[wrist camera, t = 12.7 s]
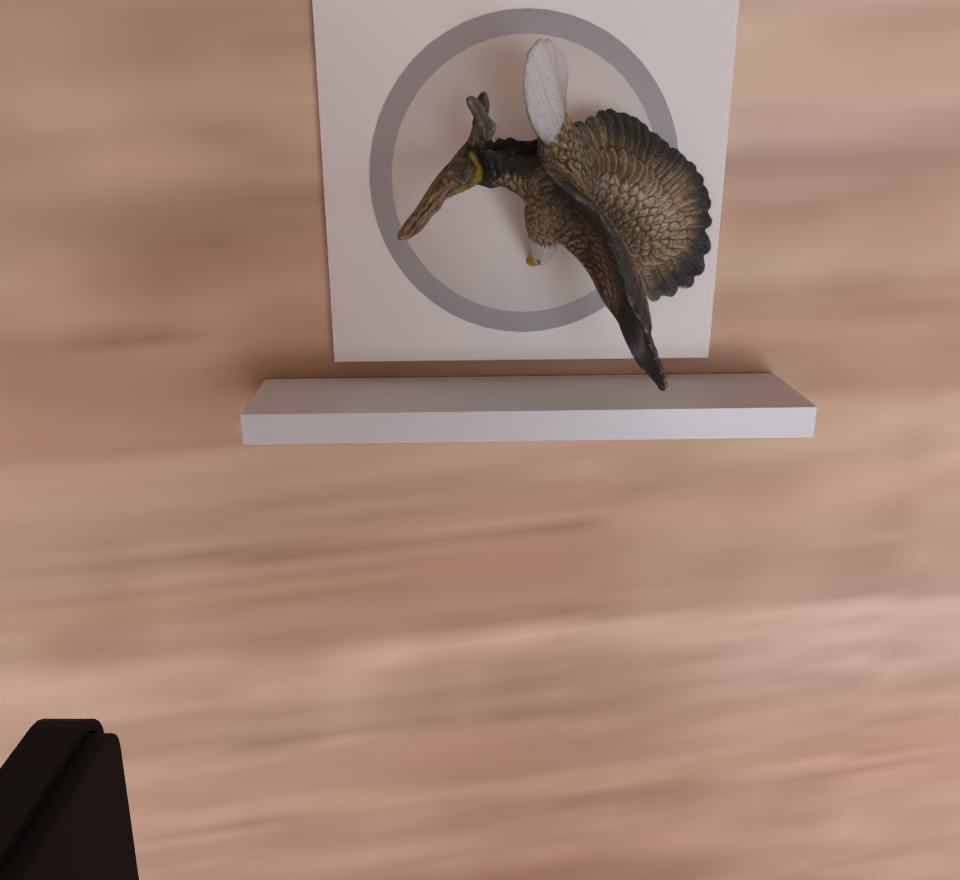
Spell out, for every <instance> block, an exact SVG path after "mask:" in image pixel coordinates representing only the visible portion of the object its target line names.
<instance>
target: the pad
mask: <svg viewBox="0 0 960 880" xmlns="http://www.w3.org/2000/svg"><path fill="white" fill-rule="evenodd" d="M739 4H740V0H312V5H313V21H314V37H315V53H316V69H317V85H318V102H319V118H320V134H321V150H322V166H323V183H324V199H325V215H326V231H327V247H328V264H329V280H330V296H331V312H332V328H333V344H334V361H335V362H365V361H453V360H541V359H629V358H634V357H633V356H632V354H631V352H630V350H629V347H628V345H627V343H626V342H625V339H624V337H623V334H622V332H621V329H620V326H619V323H618V322H617V320H616V319H615V317H614V316H613V315H612V313H611V312H610V310H609V309H608V308H607V307H606V305H605V304H604V302H603V301H602V299H601V297H600V295H599V293H598V291H597V289H596V287H595V285H594V283H593V281H592V279H591V277H590V275H589V274H588V272H587V271H586V269H585V268H584V267H583V265H582V264H581V263H580V262H579V260H578V259H577V258H576V257H575V256H574V255H573V254H571V253H570V252H569V251H568V250H567V249H566V248H565V247H564V246H563V245H561V244H559V245H558V248H557V250H556V252H555V254H554V256H553V257H552V259H551V260H550V261H549V262H548V263H547V264H546V265H545V266H540V265H538V266H529V265H528V264H527V263H526V260H527V259H529V257H530V254H531V253H530V243H529V238H528V233H527V230H526V227H525V216H524V212H525V206H526V204H525V202H524V201H523V199H522V198H521V197H519V196H518V195H517V194H516V193H514V192H512V191H510V190H508V189H507V188H505V187H496V188H491V189H490V188H487V187H485V186H481V185H475V186H473V187H472V188H471V189H468V190H466V191H464V192H462V193H459V194H457V195H453V196H452V197H450V198H448V199H446V200H445V202H444V203H443V204H442V207H441V210H439V211H438V212H437V213H435V214H434V215H433V216H432V217H431V219H430V221H429V222H428V223H427V225H426V226H425V227H424V228H423V229H422V230H421V232H419V233H418V234H416V235H414V236H413V237H412V238H410V239H407V240H398V238H397V234H398V232H399V230H400V229H401V227H402V226H403V224H404V223H405V221H406V220H407V219H408V217H409V216H410V215H411V214H412V213H413V211H414V210H415V208H416V207H417V205H418V204H419V202H420V201H421V199H422V197H423V196H424V194H425V193H426V191H427V190H428V188H429V187H430V185H431V183H432V182H433V181H434V179H435V178H436V177H437V175H438V174H439V173H440V172H441V171H442V169H443V168H444V167H445V166H446V165H447V164H448V163H449V162H450V161H451V159H452V158H453V157H454V155H455V154H456V153H457V152H458V150H459V149H460V148H461V147H462V146H463V145H464V144H465V143H466V142H467V140H468V138H469V135H470V133H471V129H472V120H473V118H474V117H473V115H472V113H471V111H470V110H469V108H468V106H467V103H466V98H467V97H469V96H474V97H476V98H477V97H478V96H479V94H480V93H481V92H483V91H485V92H486V93H487V96H488V99H489V104H490V109H489V113H488V116H489V117H490V118H491V119H492V120H493V121H494V122H495V123H496V125H497V130H496V132H495V134H494V135H493V137H492V138H491V139H492V141H493V142H495V141H496V140H497V138H501V139H507V138H508V137H511V138H514V139H515V140H518V141H533V140H535V139H537V134H536V133H535V131H534V130H533V128H532V126H531V125H530V122H529V119H528V116H527V113H526V109H525V103H524V97H523V90H522V81H523V78H524V66H525V62H526V54H527V52H528V50H529V49H530V48H531V47H532V46H533V45H534V44H535V42H536V41H537V40H538V39H544V40H545V39H549V40H551V42H552V44H553V45H554V46H555V47H556V48H557V49H558V50H559V51H560V52H561V53H563V55H564V56H565V58H566V61H567V65H568V69H569V74H568V85H567V95H566V102H567V105H566V111H567V114H568V116H569V118H570V119H571V120H572V122H573V123H575V122H577V121H582V122H584V123H585V120H586V118H587V117H590V116H594V117H595V116H596V115H597V112H598V111H599V110H604V111H606V110H607V109H609V108H611V109H613V110H615V111H616V112H619V113H622V112H624V113H627V114H629V115H630V116H634V117H637V118H638V119H639V120H640V121H641V122H642V123H645V124H646V125H647V127H648V128H649V131H650V132H654V133H657V134H658V135H659V136H660V137H661V138H662V139H663V140H665V141H666V142H668V143H669V147H670V148H676V149H678V150H679V151H680V153H681V154H683V155H684V156H685V157H686V159H687V161H691V162H693V163H694V164H695V166H696V168H697V169H696V170H697V172H699V173H700V174H701V175H702V176H703V178H704V183H703V184H704V186H706V188H707V190H708V193H709V198H710V200H711V207H710V209H709V210H708V213H709V215H710V217H711V218H712V224H711V226H710V227H709V228H707V229H706V230H705V232H706V233H707V235H708V236H709V239H710V242H711V250H710V252H709V253H708V254H705V255H704V262H705V269H704V272H703V273H702V274H701V275H699V276H696V277H694V284H693V286H692V287H690V288H685V289H684V288H681V287H679V288H678V290H677V292H676V294H675V295H674V296H673V297H668V296H661V297H660V299H659V300H658V301H655V302H652V301H651V300H649V298H648V297H647V295H646V297H647V300H648V305H649V311H650V315H651V322H652V331H651V335H652V338H653V342H654V345H655V347H656V349H657V351H658V357H659V358H708V356H709V345H710V334H711V322H712V311H713V299H714V288H715V277H716V265H717V254H718V243H719V231H720V220H721V208H722V197H723V186H724V174H725V163H726V152H727V140H728V129H729V117H730V106H731V95H732V83H733V72H734V61H735V49H736V38H737V27H738V15H739Z"/></svg>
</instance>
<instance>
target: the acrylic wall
mask: <svg viewBox="0 0 960 880" xmlns="http://www.w3.org/2000/svg"><path fill="white" fill-rule="evenodd" d="M665 376H666V378H667V382H668V388H666V391H661V390H660V389H659V388H658V386H657V385H656V384H655V383H654V382H653V380H652V379H651V378H650V376H649V375H568V376H484V377H399V378H315V379H265V381H264V382H263V384H262V385H261V386H260V388H259V389H258V390H257V392H256V393H255V395H254V396H253V397H252V399H251V400H250V401H249V403H248V404H247V406H246V407H245V408H244V410H243V411H242V413H241V414H240V421H241V430H242V440H243V445H290V444H361V443H433V442H504V441H576V440H647V439H718V438H790V437H813V435H814V427H815V420H816V412H817V407H816V406H815V405H814V404H812V403H811V402H810V401H809V400H807V399H806V398H805V397H803V396H802V395H801V394H799V393H798V392H797V391H796V390H794V389H793V388H792V387H790V386H789V385H788V384H787V383H785V382H784V381H783V380H781V379H780V378H779V377H777V376H776V375H775V374H774V373H736V374H665Z"/></svg>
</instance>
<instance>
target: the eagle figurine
mask: <svg viewBox="0 0 960 880" xmlns="http://www.w3.org/2000/svg"><path fill="white" fill-rule="evenodd" d="M568 74H569V69H568V65H567V61H566V58H565V56H564V55H563V53H561V52H560V51H559V50H558V49H557V48H556V47H555V46H554V45H553V44H552V42H551V40H549V39H545V40H544V39H538V40H537V41H536V42H535V44H534V45H533V46H532V47H531V48H530V49H529V50H528V52H527V54H526V62H525V66H524V78H523V81H522V90H523V97H524V103H525V109H526V113H527V116H528V119H529V122H530V125H531V126H532V128H533V130H534V131H535V133H536V134H537V139H535V140H533V141H518V140H515V139H514V138H511V137H508V138H507V139H501V138H497V140H496V141H495V142H493V141H492V139H491V138H492V137H493V135H494V134H495V132H496V130H497V125H496V123H495V122H494V121H493V120H492V119H491V118H490V117H489V116H488V113H489V109H490V104H489V99H488V96H487V93H486V92H485V91H483V92H481V93H480V94H479V96H478V97H477V98H476V97H474V96H469V97H467V98H466V103H467V106H468V108H469V110H470V111H471V113H472V115H473V117H474V118H473V120H472V129H471V133H470V135H469V138H468V140H467V142H466V143H465V144H464V145H463V146H462V147H461V148H460V149H459V150H458V152H457V153H456V154H455V155H454V157H453V158H452V159H451V161H450V162H449V163H448V164H447V165H446V166H445V167H444V168H443V169H442V171H441V172H440V173H439V174H438V175H437V177H436V178H435V179H434V181H433V182H432V183H431V185H430V187H429V188H428V190H427V191H426V193H425V194H424V196H423V197H422V199H421V201H420V202H419V204H418V205H417V207H416V208H415V210H414V211H413V213H412V214H411V215H410V216H409V217H408V219H407V220H406V221H405V223H404V224H403V226H402V227H401V229H400V230H399V232H398V234H397V238H398V240H407V239H410V238H412V237H413V236H414V235H416V234H418V233H419V232H421V230H422V229H423V228H424V227H425V226H426V225H427V223H428V222H429V221H430V219H431V217H432V216H433V215H434V214H435V213H437V212H438V211H439V210H441V207H442V204H443V203H444V202H445V200H446V199H448V198H450V197H452V196H453V195H457V194H459V193H462V192H464V191H466V190H468V189H471V188H472V187H473V186H475V185H481V186H485V187H487V188H490V189H491V188H496V187H505V188H507V189H508V190H510V191H512V192H514V193H516V194H517V195H518V196H519V197H521V198H522V199H523V201H524V202H525V204H526V206H525V212H524V216H525V227H526V230H527V233H528V238H529V243H530V253H531V254H530V257H529V259H527V260H526V263H527V264H528V265H529V266H538V265H540V266H545V265H546V264H547V263H548V262H549V261H550V260H551V259H552V257H553V256H554V254H555V252H556V250H557V248H558V245H559V244H561V245H563V246H564V247H565V248H566V249H567V250H568V251H569V252H570V253H571V254H573V255H574V256H575V257H576V258H577V259H578V260H579V262H580V263H581V264H582V265H583V267H584V268H585V269H586V271H587V272H588V274H589V275H590V277H591V279H592V281H593V283H594V285H595V287H596V289H597V291H598V293H599V295H600V297H601V299H602V301H603V302H604V304H605V305H606V307H607V308H608V309H609V310H610V312H611V313H612V315H613V316H614V317H615V319H616V320H617V322H618V323H619V326H620V329H621V332H622V334H623V337H624V339H625V342H626V343H627V345H628V347H629V350H630V352H631V354H632V356H633V357H634V359H635V360H636V362H637V363H638V364H639V366H640V367H641V368H643V369H645V371H646V372H647V374H648V375H649V376H650V378H651V379H652V380H653V382H654V383H655V384H656V385H657V386H658V388H659V389H660V390H661V391H666V388H668V382H667V378H666V376H665V374H664V368H663V366H662V364H661V361H660V359H659V357H658V351H657V349H656V347H655V345H654V342H653V338H652V335H651V331H652V322H651V315H650V311H649V305H648V300H647V297H648V298H649V300H651V301H652V302H655V301H658V300H659V299H660V297H661V296H668V297H673V296H674V295H675V294H676V292H677V290H678V288H679V287H681V288H684V289H685V288H690V287H692V286H693V284H694V277H696V276H699V275H701V274H702V273H703V272H704V269H705V262H704V255H705V254H708V253H709V252H710V250H711V242H710V239H709V236H708V235H707V233H706V232H705V230H706V229H707V228H709V227H710V226H711V224H712V218H711V217H710V215H709V213H708V210H709V209H710V207H711V200H710V198H709V193H708V190H707V188H706V186H704V184H703V183H704V178H703V176H702V175H701V174H700V173H699V172H697V170H696V169H697V168H696V166H695V164H694V163H693V162H691V161H687V159H686V157H685V156H684V155H683V154H681V153H680V151H679V150H678V149H676V148H670V147H669V143H668V142H666V141H665V140H663V139H662V138H661V137H660V136H659V135H658V134H657V133H654V132H650V131H649V128H648V127H647V125H646V124H645V123H642V122H641V121H640V120H639V119H638V118H637V117H634V116H630V115H629V114H627V113H624V112H622V113H619V112H616V111H615V110H613V109H611V108H609V109H607V110H606V111H604V110H599V111H598V112H597V115H596V116H595V117H594V116H590V117H587V118H586V120H585V123H584V122H582V121H577V122H575V123H573V122H572V120H571V119H570V118H569V116H568V114H567V111H566V105H567V102H566V95H567V85H568ZM646 295H647V297H646Z"/></svg>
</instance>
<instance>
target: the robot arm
mask: <svg viewBox="0 0 960 880" xmlns="http://www.w3.org/2000/svg"><path fill="white" fill-rule="evenodd" d="M0 880H139V877H138V870H137V863H136V855H135V848H134V841H133V834H132V826H131V819H130V812H129V805H128V798H127V790H126V783H125V776H124V769H123V761H122V754H121V747H120V742H119V739H118V737H117V735H116V734H113V733H104V731H103V727H102V725H101V723H100V722H99V721H98V720H96V719H41V720H38V721H37V722H36V723H35V724H34V725H33V726H32V727H31V728H30V729H29V730H28V732H27V733H26V734H25V736H24V737H23V738H22V740H21V741H20V743H19V744H18V745H17V747H16V748H15V749H14V751H13V752H12V753H11V755H10V756H9V757H8V759H7V760H6V761H5V763H4V764H3V766H2V767H1V768H0Z"/></svg>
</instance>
